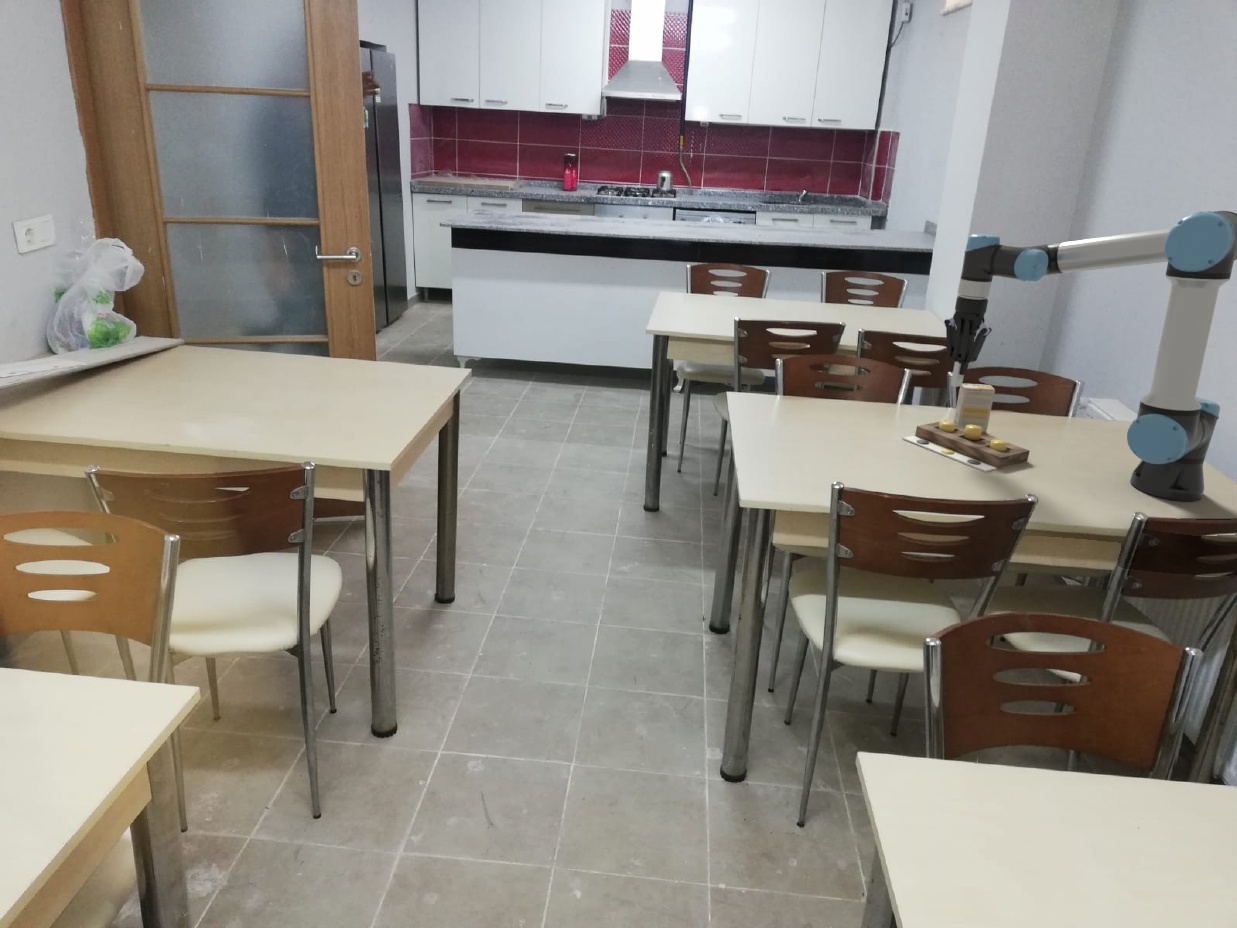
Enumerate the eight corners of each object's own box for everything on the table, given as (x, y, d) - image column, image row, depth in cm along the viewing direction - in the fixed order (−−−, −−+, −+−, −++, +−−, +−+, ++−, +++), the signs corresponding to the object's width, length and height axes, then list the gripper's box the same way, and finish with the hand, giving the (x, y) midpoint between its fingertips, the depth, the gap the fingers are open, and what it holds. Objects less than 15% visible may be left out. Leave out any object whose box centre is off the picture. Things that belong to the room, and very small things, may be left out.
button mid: (983, 438, 229) (985, 428, 228) (973, 440, 227) (975, 430, 226) (970, 433, 232) (972, 423, 231) (960, 435, 230) (962, 425, 229)
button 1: (956, 434, 236) (958, 424, 235) (947, 436, 234) (949, 426, 233) (944, 429, 239) (946, 420, 238) (934, 431, 237) (936, 422, 236)
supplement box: (981, 429, 247) (990, 384, 242) (986, 434, 243) (996, 389, 238) (951, 426, 248) (960, 382, 243) (955, 432, 243) (965, 387, 239)
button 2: (1008, 453, 223) (1011, 443, 222) (999, 456, 221) (1001, 445, 220) (995, 448, 227) (997, 438, 226) (985, 450, 224) (987, 440, 223)
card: (996, 469, 217) (996, 467, 217) (985, 472, 215) (985, 470, 215) (913, 436, 237) (913, 435, 237) (902, 439, 235) (902, 437, 235)
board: (1027, 461, 224) (1029, 450, 223) (998, 468, 218) (1000, 457, 217) (943, 430, 244) (945, 420, 243) (915, 436, 238) (917, 426, 237)
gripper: (1004, 300, 220) (986, 390, 228) (960, 291, 230) (945, 378, 238) (985, 302, 216) (967, 393, 224) (942, 293, 226) (926, 381, 234)
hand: (956, 385), depth 231 cm, fingers closed
